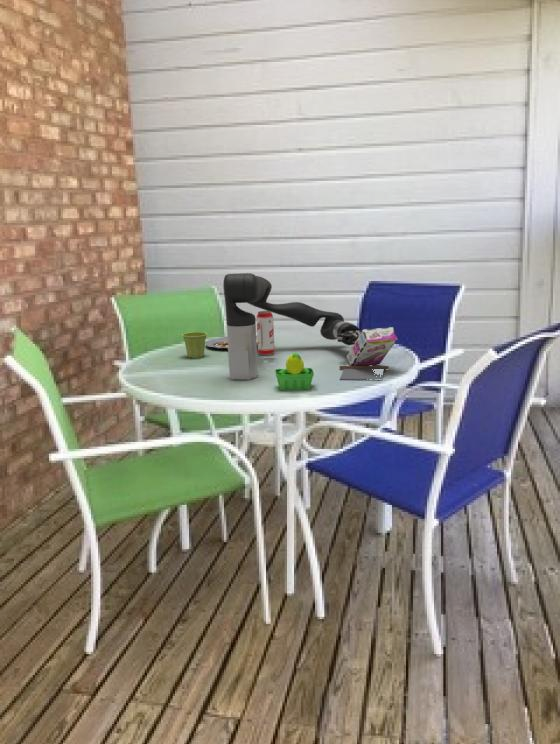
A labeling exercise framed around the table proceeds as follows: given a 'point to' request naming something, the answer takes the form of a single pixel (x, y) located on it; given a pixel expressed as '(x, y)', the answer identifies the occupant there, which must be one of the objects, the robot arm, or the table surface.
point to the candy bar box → (371, 346)
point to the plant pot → (195, 343)
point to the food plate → (220, 342)
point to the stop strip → (363, 367)
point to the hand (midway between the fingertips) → (363, 341)
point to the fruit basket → (294, 374)
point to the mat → (359, 374)
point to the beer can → (265, 333)
